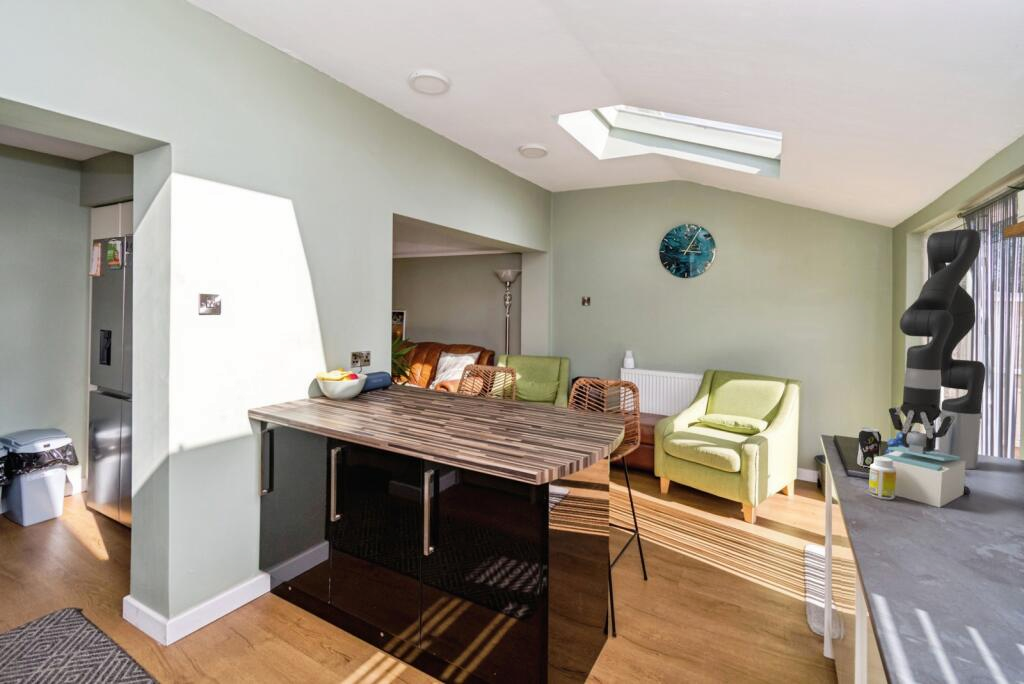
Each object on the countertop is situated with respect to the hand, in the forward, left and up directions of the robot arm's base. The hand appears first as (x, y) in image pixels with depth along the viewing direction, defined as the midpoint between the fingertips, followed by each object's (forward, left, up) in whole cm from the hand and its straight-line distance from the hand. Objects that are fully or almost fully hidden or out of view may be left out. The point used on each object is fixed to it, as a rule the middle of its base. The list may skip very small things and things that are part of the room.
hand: (917, 449), depth 132 cm
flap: (-4, 0, -2) cm, 4 cm away
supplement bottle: (+10, -4, -12) cm, 16 cm away
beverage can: (-14, -17, -12) cm, 25 cm away
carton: (-2, 0, -12) cm, 12 cm away
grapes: (-24, -10, -12) cm, 29 cm away
